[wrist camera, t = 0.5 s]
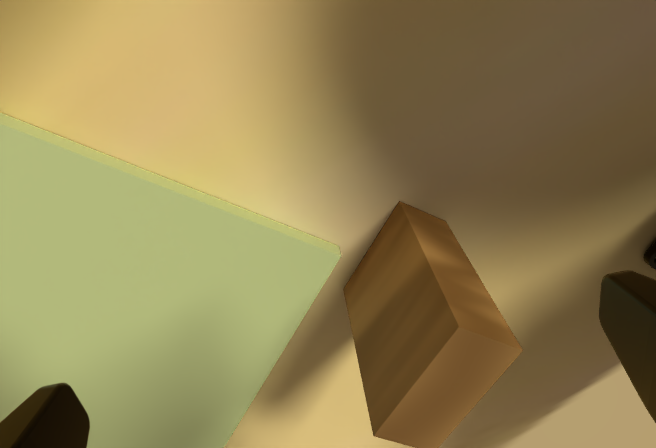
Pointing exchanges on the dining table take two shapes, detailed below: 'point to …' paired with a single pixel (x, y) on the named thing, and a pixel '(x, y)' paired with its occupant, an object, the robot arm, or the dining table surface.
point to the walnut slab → (423, 330)
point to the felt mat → (141, 293)
